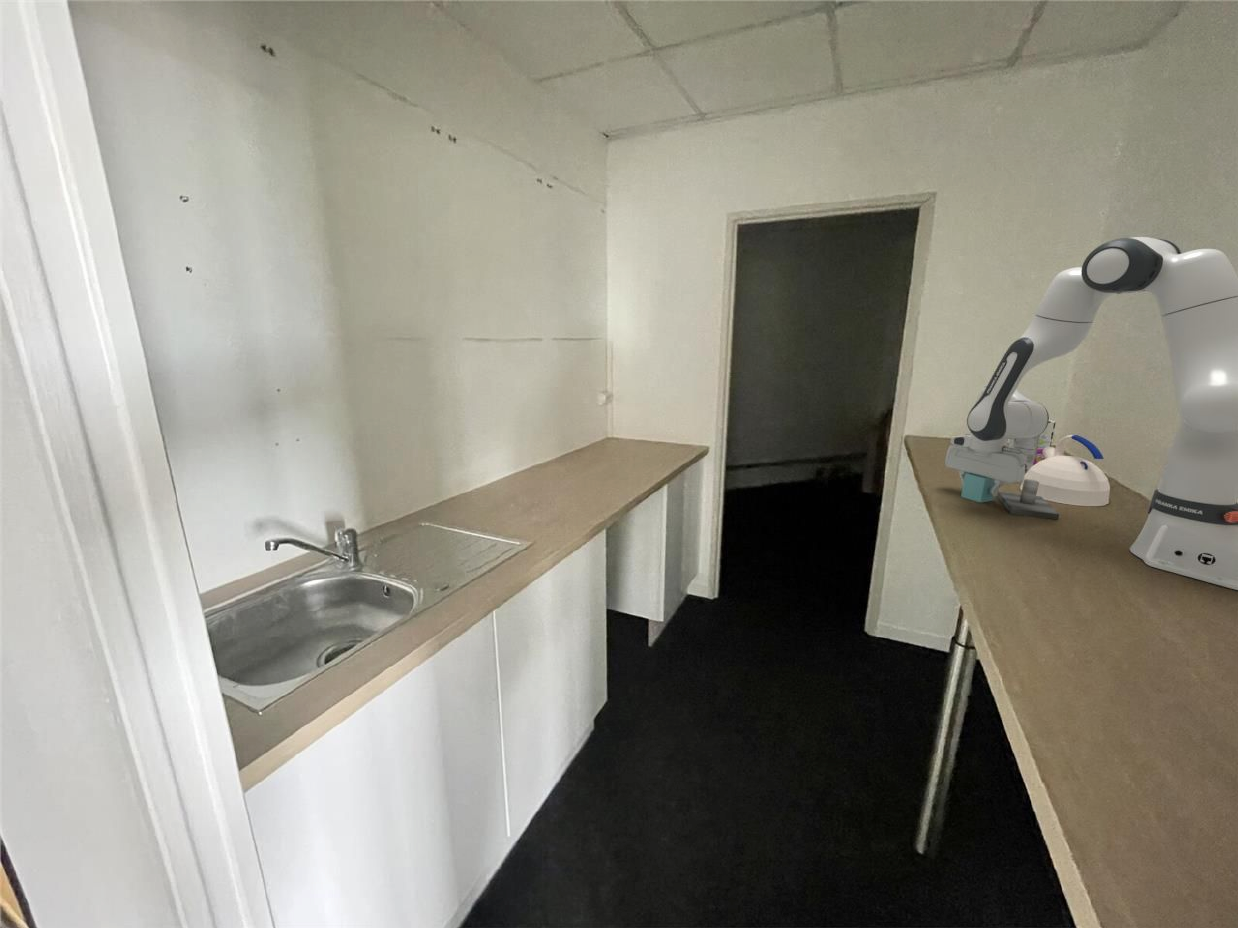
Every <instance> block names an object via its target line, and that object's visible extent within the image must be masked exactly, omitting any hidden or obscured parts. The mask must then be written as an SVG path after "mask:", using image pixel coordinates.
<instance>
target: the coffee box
mask: <svg viewBox="0 0 1238 928" xmlns="http://www.w3.org/2000/svg"><path fill="white" fill-rule="evenodd" d="M1039 438H1040V435H1039V436H1037V437H1031V438H1017V439H1014V443H1013V448H1014V449H1020V450H1022V452H1024V453H1025V454H1026V455H1027V460H1026V464H1025V474H1026V473H1027V472H1028V470H1029V469H1030V468H1031V467H1032V466H1033V465H1034V461H1035V456H1036V452H1037V448H1038V443H1039ZM1021 454H1023V453H1021Z"/></svg>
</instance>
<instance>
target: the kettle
mask: <svg viewBox="0 0 1238 928" xmlns="http://www.w3.org/2000/svg"><path fill="white" fill-rule="evenodd" d="M1072 440H1074V441H1077V442H1079V443H1080V444H1082V445H1083V446H1084V447H1085V448H1086V449H1087V450H1088V451H1089V452H1090V454H1091V455H1092V457H1093V459H1094V460H1104V458H1105V457H1104V456H1103V454H1102V453H1101V450H1099V448H1098V447H1097V446H1096V445H1095V444H1094V443H1092V442H1091V441H1090V440H1088V439H1087V438H1085V437H1083V436H1080V435H1078V434H1070V435H1069V434H1068V435H1066V436H1064V437H1062V438H1061V439H1060V440H1058V442H1057V444H1056V445H1055V446H1054V447H1053V446H1051V447H1047V448H1045V449H1043V451H1042V453H1043V454H1044V456H1045V460H1042V461H1040V462H1038V463H1036V464H1035V465H1033V466H1032V467H1031V468H1030V469H1029V470H1028V472H1027V473H1026V474H1025V475H1024V480H1025V479H1029V480H1035V481H1038V482H1039V485H1038V490H1037V494H1036V496H1041V497H1042V498H1043V499H1044V500H1045V501H1046V502H1053V503H1056V504H1057V503H1058V504H1063V505H1070V506H1078V507H1102V506H1103V507H1104V506H1106V505H1108V504H1109V501H1110V500H1109V498H1110V492H1111V491H1110V490H1111V486H1110V481H1109V479H1108V477H1107V476H1106V475H1105V474H1106V473H1104V472H1103V471H1102V470H1101V469H1100V468H1099V467H1098V466H1097V465H1096V464H1094V462H1091V461H1089V460H1086V459H1084V458H1082V457H1078V456H1074V455H1073V456H1071V455H1065V448H1066V446H1067V444H1068V443H1069V442H1070V441H1072ZM1024 480H1023V481H1022V482H1021V484H1020V487H1019V489H1020V491H1021V492H1022V488H1023V483H1024Z"/></svg>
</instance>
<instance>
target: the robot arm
mask: <svg viewBox="0 0 1238 928" xmlns="http://www.w3.org/2000/svg"><path fill="white" fill-rule="evenodd" d="M1139 292H1149V293H1150V294H1151V295H1153V297H1154V298H1155V301H1156V302H1157V306H1158V309H1159V315H1160V319H1161V323H1162V328H1163V333H1164V337H1165V339H1166V343H1167V348H1168V353H1169V358H1170V366H1171V375H1172V383H1173V388H1174V393H1175V399H1176V405H1177V409H1178V414H1179V417H1180V421H1179V424H1178V427H1177V429H1176V432H1175V435H1174V438H1173V439H1172V443H1171V445H1170V446H1171V447H1170V448H1169V451H1168V453H1167V455H1166V459H1165V462H1164V465H1163V470H1162V473H1161V477H1160V481H1159V484H1158V487H1157V489H1154V491H1153V494H1152V496H1151V499H1150V501H1149V505H1148V512H1147V513H1148V516H1147V518H1146V521H1145V523H1144V525H1143V528H1142V530H1140V533H1139V534H1138V536H1137V537H1136V539H1135V541H1134V542H1133V543H1132V545H1131V546H1130V547H1129V551H1130V552H1131V553H1132V554H1133V555H1134V556H1135V557H1138V558H1140V559H1141V560H1143V562H1144V563H1145V564H1146V565H1147V566H1149V567H1153V568H1155V569H1160V570H1163V571H1167V572H1170V573H1174V574H1177V575H1181V576H1185V577H1187V578H1188V577H1189V578H1192V579H1196V580H1199V581H1203V582H1206V583H1211V584H1214V585H1218V586H1221V587H1225V588H1228V589H1233V590H1234V591H1235V590H1236V591H1238V502H1237V501H1238V274H1237V273H1236V271H1235V268H1234V267H1233V265H1232V263H1231V262H1230V260H1229V258H1228V257H1227V255H1226V254H1225V253H1224V252H1223V251H1221V250H1219V249H1215V248H1199V249H1192V250H1190V251H1186V252H1182V251H1181V249H1180V247H1179V246H1177V244H1175V243H1173V242H1172V241H1169V240H1167V239H1164V238H1152V237H1148V236H1132V237H1119V238H1115V239H1111V240H1109V241H1106V242H1104V243H1103V244H1101V245H1099V246H1097V247H1096V248H1094V249H1093V250H1092V251H1091V252H1090V253H1089V254H1088V255H1087V256H1086V257H1085V259H1084V261H1083V263H1082V266H1078V267H1077V266H1076V267H1071V268H1067V269H1064V270H1062V271H1060V272H1058V274H1056V275H1055V277H1053V279H1052V281H1051V283H1049V286H1048V287H1047V289H1046V291H1045V293H1044V294H1043V296H1042V298H1041V300H1040V302H1039V304H1038V307H1036V311H1035V313H1034V316H1033V318H1032V320H1031V322H1030V324H1029V325H1028V327H1027V328H1026V329H1025V331H1024V332H1023V333H1022V335H1021V336H1020V337H1019V338H1018V339H1017V340H1015V341H1013V343H1011V345H1010V346H1009V347H1008V348H1007V350H1006V352H1004V354H1003V356H1002V357H1001V360H1000V362H999V363H998V364H997V367H996V369H995V371H993V372H994V373H993V374H992V376H991V378H990V379H989V382H988V384H987V386H984V387H983V388H981V390H980V392H979V394H978V396H977V400H976V403H974V405H973V406H972V408H971V409H970V411H969V413H968V415H967V419H966V425H967V427H968V429H969V432H970V433H968V434H964V435H963V434H962V435H957V436H956V435H955V436H952V437H951V438H950V443H951V445H949V447H948V448H947V450H946V455H945V460H944V463H945V466H946V467H947V468H949V469H954V470H957V471H958V475H959V478H960V480H961V482H960V486H961V487H963V483H964V478H965V474H966V473H972V474H976V475H980V476H984V477H988V478H991V479H995V481H994V483H996V485H995V486H994V487H992V488H989V491H988V494H992V495H995V496H997V495H998V492H999V489H1000V488H1002V486H1003V485H1005V483H1007V484H1011V485H1017V484H1020V483H1022V481H1023V480H1024V475H1025V464H1026V460H1027V455H1026V454H1025V453H1024V452H1022V450H1020V449H1014V448H1010V447H1008V444H1009V440H1010V439H1017V438H1031V437H1037V436H1039V435H1040V434H1042V433H1043V432H1044V431H1045V429H1046V428H1047V426H1048V422H1049V420H1050V418H1049V417H1050V416H1049V412H1048V409H1047V408H1046V407H1045V405H1043V404H1042V403H1040V402H1035V400H1031V399H1029V398H1028V397H1026V396H1024V395H1022V393H1020V392H1019V390H1018V387H1019V385H1020V383H1021V381H1022V380H1023V378H1024V377H1025V376H1026V374H1027V373H1028V372H1029V371H1031V370H1032V369H1034V368H1035V367H1037V366H1038V365H1041V364H1043V363H1045V362H1048V361H1050V360H1054V359H1056V358H1059V357H1063V356H1065V355H1067V354H1069V353H1071V352H1073V351H1074V350H1076V349H1077V348H1078V347H1079V346H1080V345H1081V344H1082V343H1083V341H1085V339H1086V338H1087V336H1088V334H1089V332H1090V330H1091V328H1092V325H1093V322H1094V321H1095V318H1096V315H1097V314H1098V311H1099V310H1100V308H1101V306H1102V304H1103V302H1104V301H1106V299H1108V298H1109V297H1110V296H1112V295H1114V294H1117V295H1118V294H1120V295H1121V294H1131V293H1139ZM1021 453H1023V454H1021Z"/></svg>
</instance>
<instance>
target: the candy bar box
mask: <svg viewBox="0 0 1238 928" xmlns="http://www.w3.org/2000/svg"><path fill="white" fill-rule="evenodd" d="M1056 422H1057V421H1055V420H1053V419H1049V422H1048V426H1047V428H1046V429H1045V431H1044V432H1043V433H1042V434H1040V438H1039V443H1038V448H1037V452H1036V456H1035V461H1034V465H1035V464H1036V463H1038V462H1040V461H1042V460H1045V456H1044V454H1043V453H1042V451H1043V449H1045V448H1047V447H1052V442H1053V437H1054V433H1055V429H1056V424H1057V423H1056ZM1013 443H1014V439H1008V445H1007V447H1010V448H1013Z"/></svg>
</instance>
